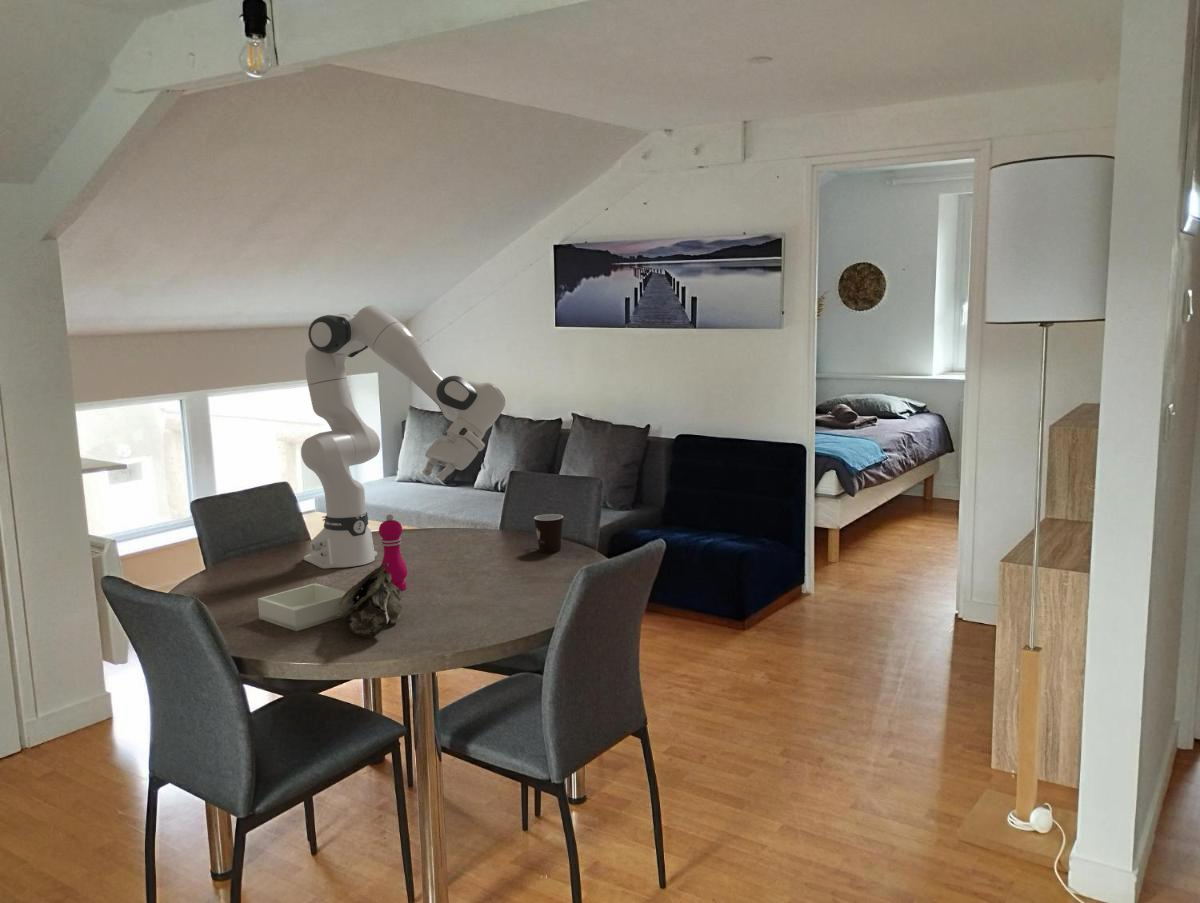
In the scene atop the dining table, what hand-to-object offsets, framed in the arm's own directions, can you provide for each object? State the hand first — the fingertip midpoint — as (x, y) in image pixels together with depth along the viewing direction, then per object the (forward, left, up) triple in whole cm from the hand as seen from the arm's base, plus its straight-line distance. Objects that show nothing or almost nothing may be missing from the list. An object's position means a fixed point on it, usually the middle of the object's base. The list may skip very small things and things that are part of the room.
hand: (432, 476), depth 265 cm
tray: (-3, -39, -28) cm, 48 cm away
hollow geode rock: (+17, -35, -29) cm, 48 cm away
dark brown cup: (+1, +42, -29) cm, 51 cm away
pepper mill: (-4, -12, -29) cm, 31 cm away
